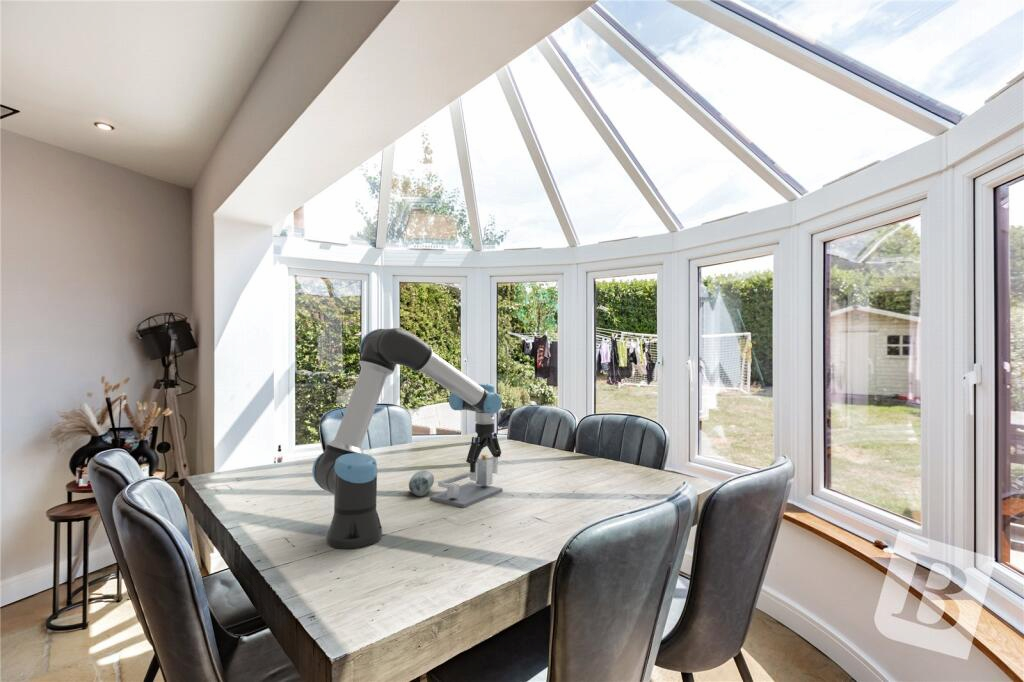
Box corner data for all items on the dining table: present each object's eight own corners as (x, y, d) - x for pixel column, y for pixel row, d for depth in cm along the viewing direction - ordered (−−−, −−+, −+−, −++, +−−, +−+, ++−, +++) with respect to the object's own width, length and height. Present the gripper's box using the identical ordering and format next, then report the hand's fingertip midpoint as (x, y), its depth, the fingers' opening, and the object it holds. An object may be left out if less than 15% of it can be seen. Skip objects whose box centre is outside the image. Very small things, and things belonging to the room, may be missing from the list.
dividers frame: (453, 500, 168) (453, 486, 168) (435, 496, 173) (435, 482, 173) (491, 485, 188) (491, 472, 188) (474, 482, 192) (474, 469, 193)
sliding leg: (486, 488, 183) (486, 457, 183) (468, 484, 188) (468, 454, 188) (492, 485, 186) (492, 455, 187) (474, 482, 191) (474, 452, 191)
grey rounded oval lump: (432, 490, 174) (422, 464, 177) (409, 501, 174) (399, 476, 177) (442, 489, 187) (433, 465, 190) (421, 499, 187) (412, 476, 190)
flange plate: (463, 507, 164) (464, 504, 164) (429, 499, 173) (429, 496, 173) (502, 491, 184) (502, 488, 184) (470, 484, 193) (470, 481, 193)
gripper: (473, 427, 174) (472, 485, 174) (509, 419, 195) (509, 471, 194) (457, 425, 178) (456, 482, 178) (495, 418, 199) (494, 468, 199)
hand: (484, 476), depth 186 cm, fingers open, 13 cm apart
